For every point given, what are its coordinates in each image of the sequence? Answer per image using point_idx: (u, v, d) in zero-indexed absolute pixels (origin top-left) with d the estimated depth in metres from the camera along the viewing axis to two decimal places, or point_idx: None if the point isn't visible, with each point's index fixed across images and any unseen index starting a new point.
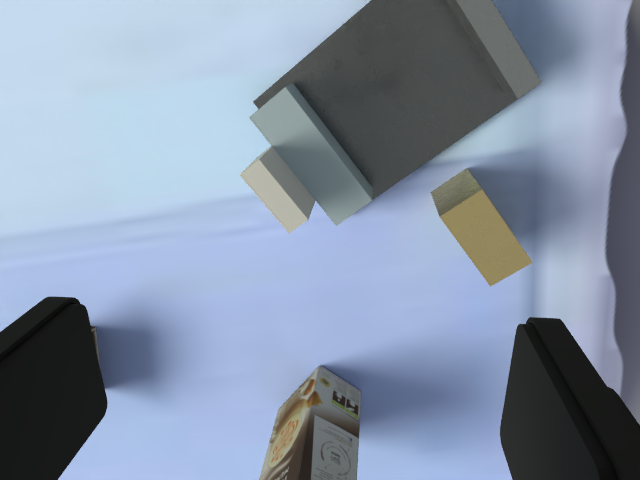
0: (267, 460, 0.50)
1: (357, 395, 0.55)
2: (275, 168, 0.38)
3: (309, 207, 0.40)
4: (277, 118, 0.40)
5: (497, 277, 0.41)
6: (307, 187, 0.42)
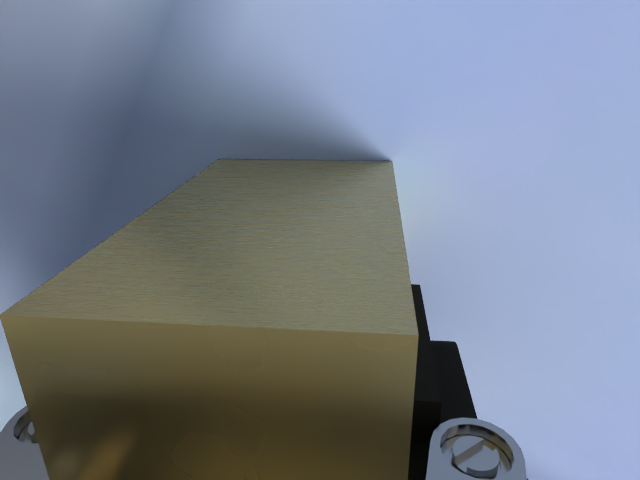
0: None
1: None
2: None
3: None
4: None
5: (315, 368, 0.04)
6: None
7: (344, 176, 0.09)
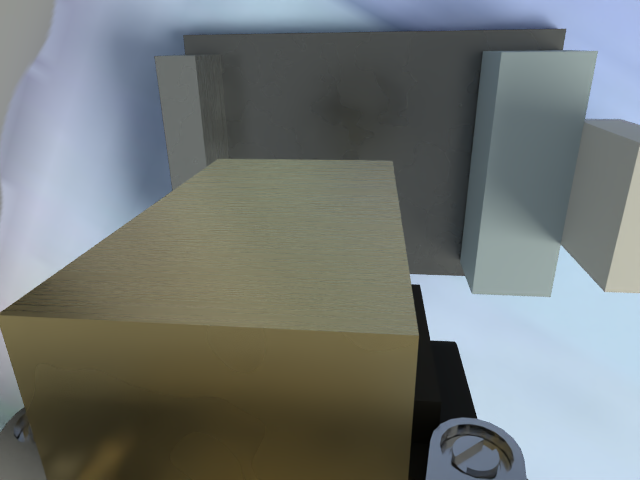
0: None
1: None
2: (592, 240, 0.20)
3: (609, 138, 0.19)
4: (517, 268, 0.25)
5: (314, 368, 0.04)
6: (574, 151, 0.22)
7: (344, 175, 0.09)
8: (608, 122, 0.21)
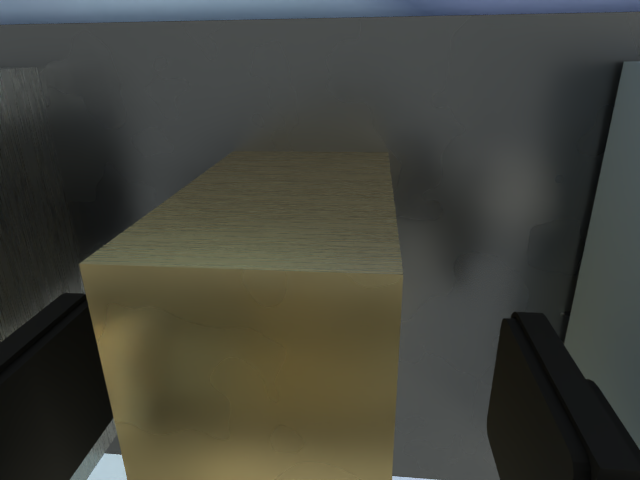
0: None
1: None
2: None
3: None
4: None
5: (324, 302, 0.06)
6: None
7: (345, 164, 0.11)
8: None
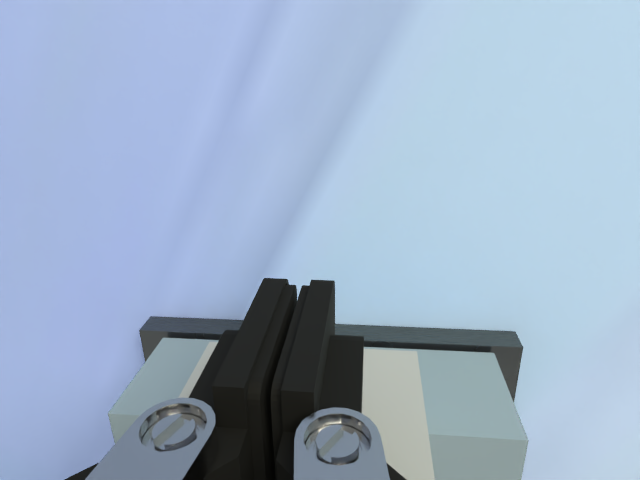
0: None
1: None
2: None
3: None
4: None
5: None
6: None
7: None
8: None
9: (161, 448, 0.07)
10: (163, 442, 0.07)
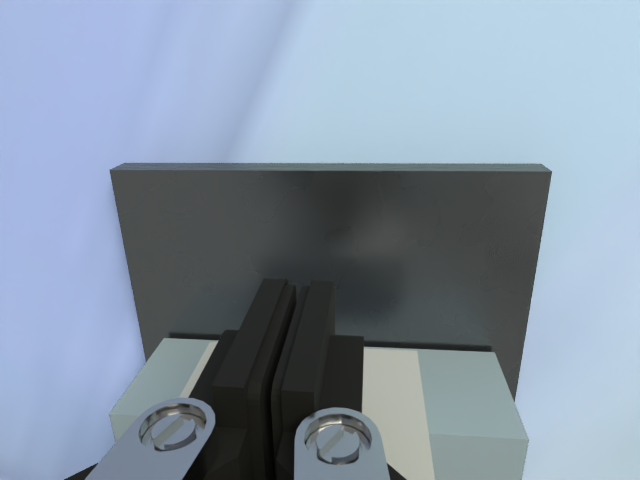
0: None
1: None
2: None
3: None
4: None
5: None
6: None
7: None
8: None
9: (161, 448, 0.07)
10: (163, 442, 0.07)
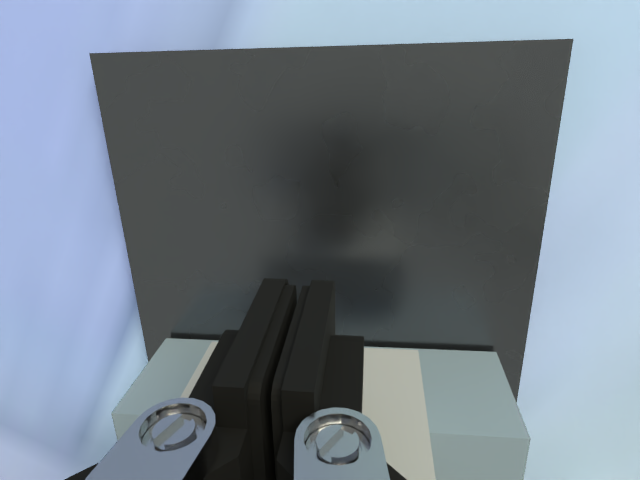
0: None
1: None
2: None
3: None
4: None
5: None
6: None
7: None
8: None
9: (161, 448, 0.07)
10: (163, 442, 0.07)
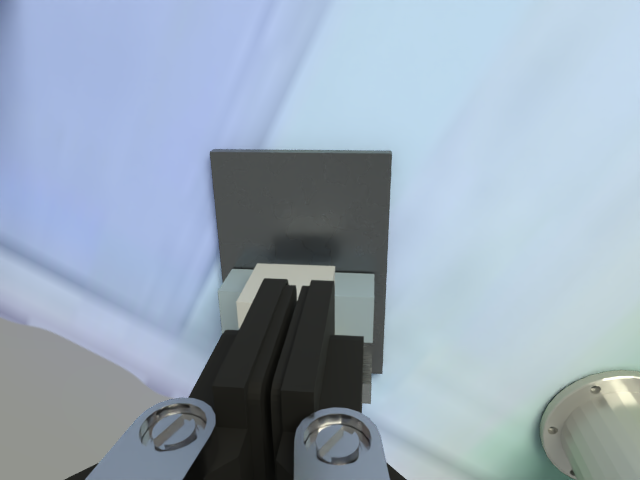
0: None
1: None
2: None
3: None
4: (353, 318, 0.36)
5: None
6: None
7: None
8: None
9: (161, 448, 0.07)
10: (163, 442, 0.07)
